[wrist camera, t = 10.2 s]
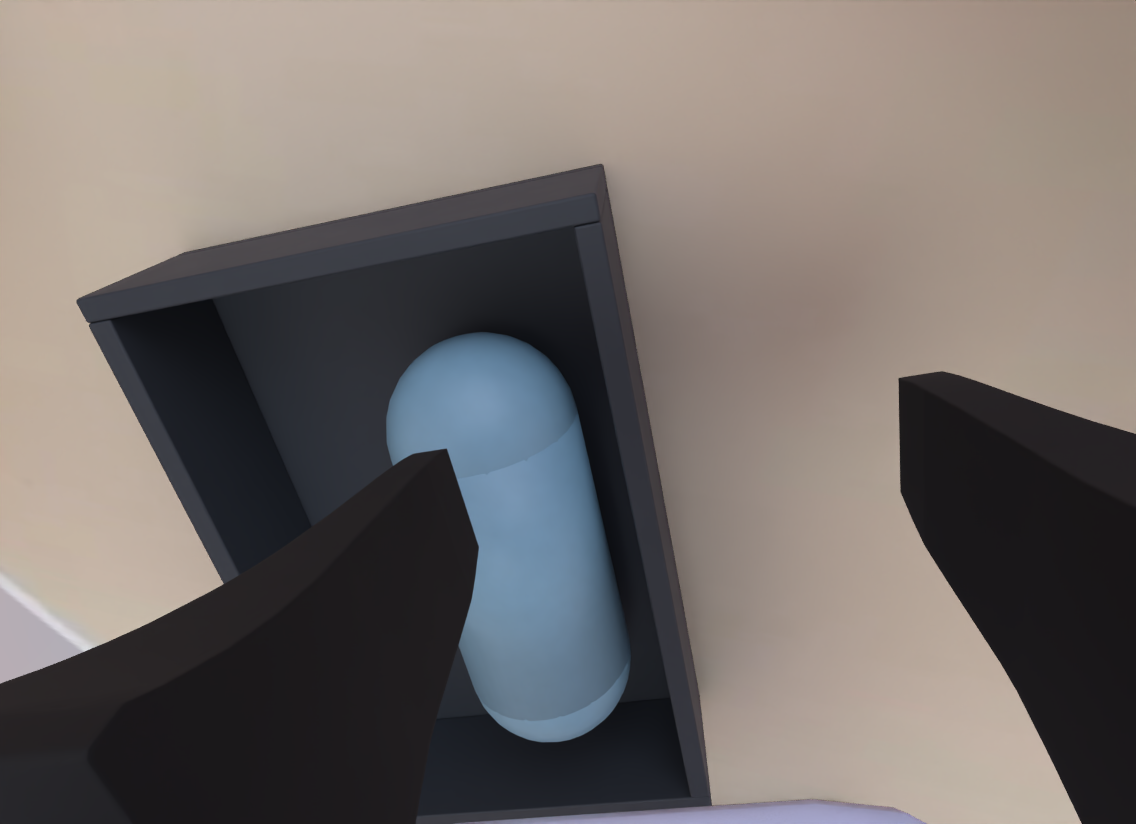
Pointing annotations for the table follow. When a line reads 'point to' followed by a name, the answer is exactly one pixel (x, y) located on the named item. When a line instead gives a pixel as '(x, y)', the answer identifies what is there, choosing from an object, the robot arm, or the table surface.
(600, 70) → the table surface
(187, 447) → the bin
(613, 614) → the capsule
